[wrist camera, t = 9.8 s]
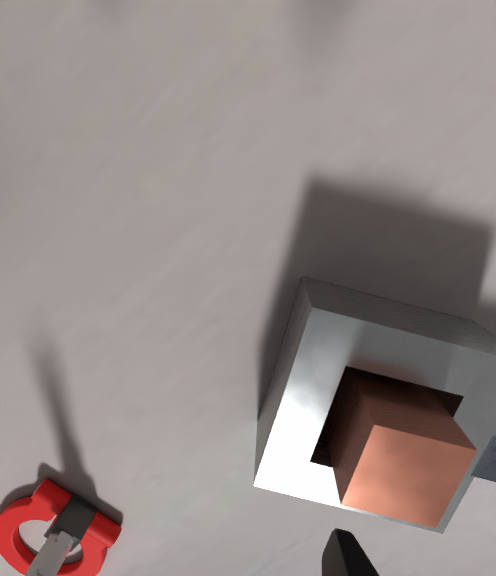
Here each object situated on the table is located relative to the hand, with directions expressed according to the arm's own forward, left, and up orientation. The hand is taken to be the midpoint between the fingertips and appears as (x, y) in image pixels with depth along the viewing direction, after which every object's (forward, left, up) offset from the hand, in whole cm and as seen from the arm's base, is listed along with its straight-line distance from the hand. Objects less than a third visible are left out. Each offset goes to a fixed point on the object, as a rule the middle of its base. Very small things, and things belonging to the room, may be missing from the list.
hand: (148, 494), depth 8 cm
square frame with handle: (+14, -2, -13) cm, 19 cm away
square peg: (+9, -2, -13) cm, 16 cm away
